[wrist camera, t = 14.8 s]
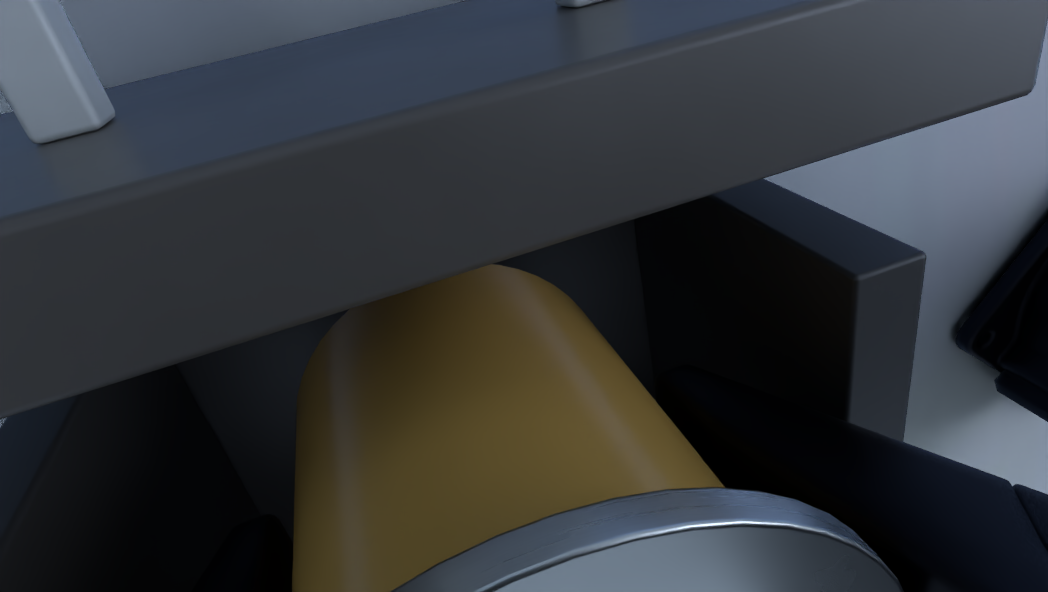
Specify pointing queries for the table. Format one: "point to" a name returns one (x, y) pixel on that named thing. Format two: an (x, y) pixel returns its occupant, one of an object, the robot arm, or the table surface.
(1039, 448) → the table surface
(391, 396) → the coffee pod
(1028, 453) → the table surface
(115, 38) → the table surface
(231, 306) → the drawer
